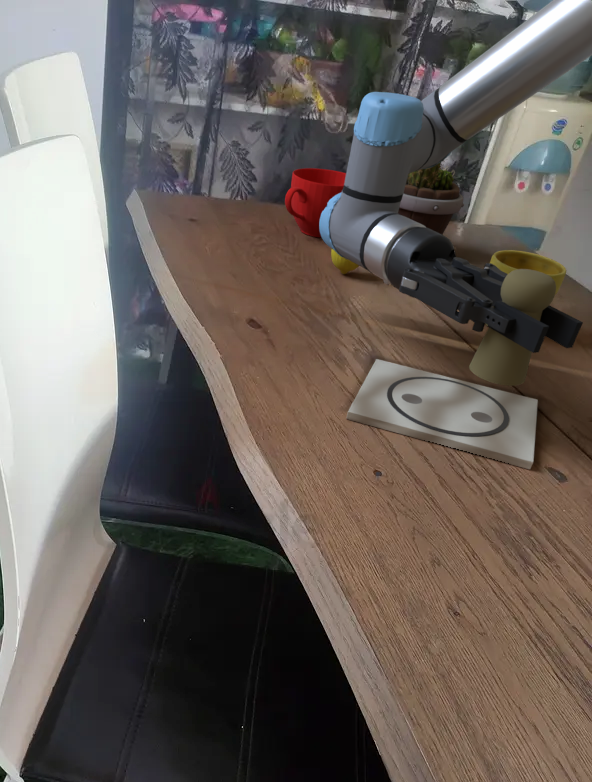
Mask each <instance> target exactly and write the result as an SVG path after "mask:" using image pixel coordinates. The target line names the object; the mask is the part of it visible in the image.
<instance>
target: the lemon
mask: <svg viewBox="0 0 592 782" xmlns="http://www.w3.org/2000/svg"><path fill="white" fill-rule="evenodd" d="M330 251H331V252H330V258H331V262H332V264H333V265H334V267H335V268H336V269H338V271H340V273H341V274H342V275H346V274H348V273H349V272H352V271H354V270H356V269H358V268H359V267H360V266H359V265H357V264H356V263H354V262H352V261H350V260H348V259H345V258H344V257H341V256H340V255H339V254H337V253H336V252H335V251H334V250H333V249H332V248H330Z"/></svg>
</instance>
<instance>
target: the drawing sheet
mask: <svg viewBox="0 0 592 782" xmlns="http://www.w3.org/2000/svg"><path fill="white" fill-rule="evenodd" d="M538 404H539V401H538V399H536V398H533V397H529V396H524V395H521V394H516V393H513V392H509V391H505V390H501V389H497V388H492V387H489V386H485V385H482V384H478V383H477V384H476V383H474V382H469V381H465V380H461V379H457V378H453V377H450V376H446V375H441V374H439V373H433V372H430V371H426V370H422V369H418V368H414V367H410V366H406V365H402V364H399V363H394V362H390V361H387V360H383V359H380V358H379V359H378V358H376V359H375V360H374V363H373V364H372V366H371V369H370V370H369V372H368V373H367V375H366V377H365V379H364V381H363V382H362V384H361V386H360V388H359V390H358V392H357V394H356V396H355V398H354V400H353V401H352V403H351V405H350V406H349V408H348V411H347V414H346V420H348V421H352V422H356V423H359V424H363V425H367V426H370V427H374V428H378V429H381V430H384V431H387V432H391V433H395V434H399V435H403V436H407V437H410V438H414V439H418V440H421V441H424V440H425V441H424V442H428V441H430V442H429V443H432V442H434V443H433V444H435V443H437V444H436V445H439V444H441V445H440V446H442V445H444V446H443V447H446V446H448V447H447V448H450V447H451V448H450V449H453V448H456V449H455V450H457V449H459V450H458V451H460V450H463V451H462V452H464V451H467V452H466V453H468V452H470V453H469V454H471V453H473V454H472V455H475V454H477V455H476V456H479V455H481V456H480V457H482V456H484V457H483V458H486V457H487V458H486V459H489V458H492V459H491V460H493V459H495V460H494V461H497V460H498V461H497V462H500V461H502V462H501V463H504V462H505V463H504V464H508V463H509V464H508V465H512V466H515V467H518V468H522V469H526V470H531V469H532V467H533V465H534V459H535V445H536V432H537V431H536V430H537V417H538Z"/></svg>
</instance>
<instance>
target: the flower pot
mask: <svg viewBox="0 0 592 782" xmlns="http://www.w3.org/2000/svg"><path fill="white" fill-rule="evenodd" d="M489 263H491V264H493V265H495V266H496V267H497V268H499V269H500V270H501V271H503V272H505V273H507V274H509V273H510V272H511V271H514V270H517V269H529V270H535V271H539V272H542V273H544V274H547V275H549V276H550V277H551V278H552V279H553V280H554V281H555V283H556V292H555V296H556V295H558V292H559V291H560V288H561V286H562V284H563V282H564V279H565V277H566V274H567V268H566V267H565V266H564V265H563V264H561V262H559V261H557V260H555V259H553V258H550V257H547V256H544V255H541V254H537V253H534V252H528V251H524V250H516V249H515V250H514V249H513V250H512V249H503V250H499V251H495V252H494V253H493V254H492V256H491V259H490V261H489ZM485 326H488V325H487V324H485Z"/></svg>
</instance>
